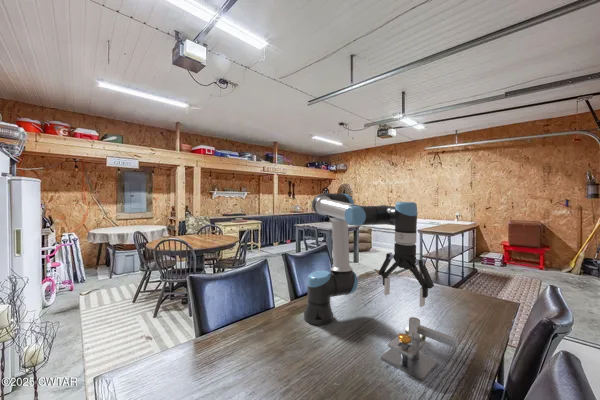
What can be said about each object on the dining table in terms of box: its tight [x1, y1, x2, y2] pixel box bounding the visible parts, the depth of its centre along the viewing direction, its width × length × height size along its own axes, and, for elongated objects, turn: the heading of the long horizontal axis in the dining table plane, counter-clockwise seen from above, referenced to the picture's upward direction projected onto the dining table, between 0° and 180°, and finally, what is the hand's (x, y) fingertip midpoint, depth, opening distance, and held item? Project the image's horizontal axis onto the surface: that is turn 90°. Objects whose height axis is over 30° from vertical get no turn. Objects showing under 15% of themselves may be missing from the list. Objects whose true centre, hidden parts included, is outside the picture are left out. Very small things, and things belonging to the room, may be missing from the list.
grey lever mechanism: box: [380, 316, 459, 382], centre depth 96 cm, size 23×15×15 cm, turn 42°
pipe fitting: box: [404, 326, 427, 344], centre depth 115 cm, size 8×4×7 cm
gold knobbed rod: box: [398, 332, 411, 367], centre depth 96 cm, size 4×4×10 cm
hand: (403, 299), depth 97 cm, fingers open, 13 cm apart
